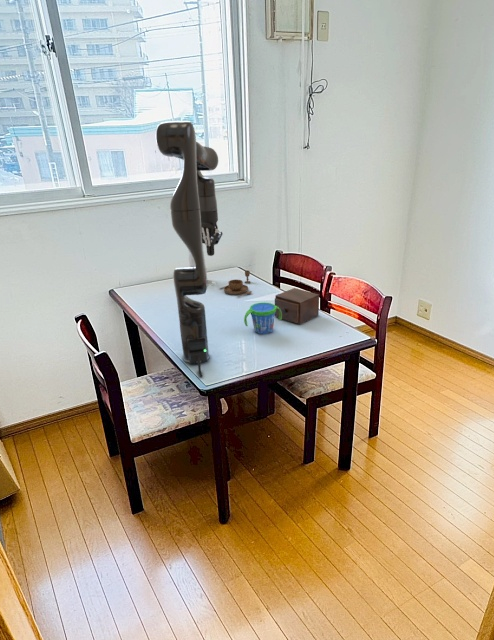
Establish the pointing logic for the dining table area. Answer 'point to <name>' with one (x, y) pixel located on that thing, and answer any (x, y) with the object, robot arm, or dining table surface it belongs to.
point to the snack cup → (262, 317)
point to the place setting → (237, 286)
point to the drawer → (287, 310)
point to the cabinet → (302, 303)
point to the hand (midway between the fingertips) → (210, 255)
